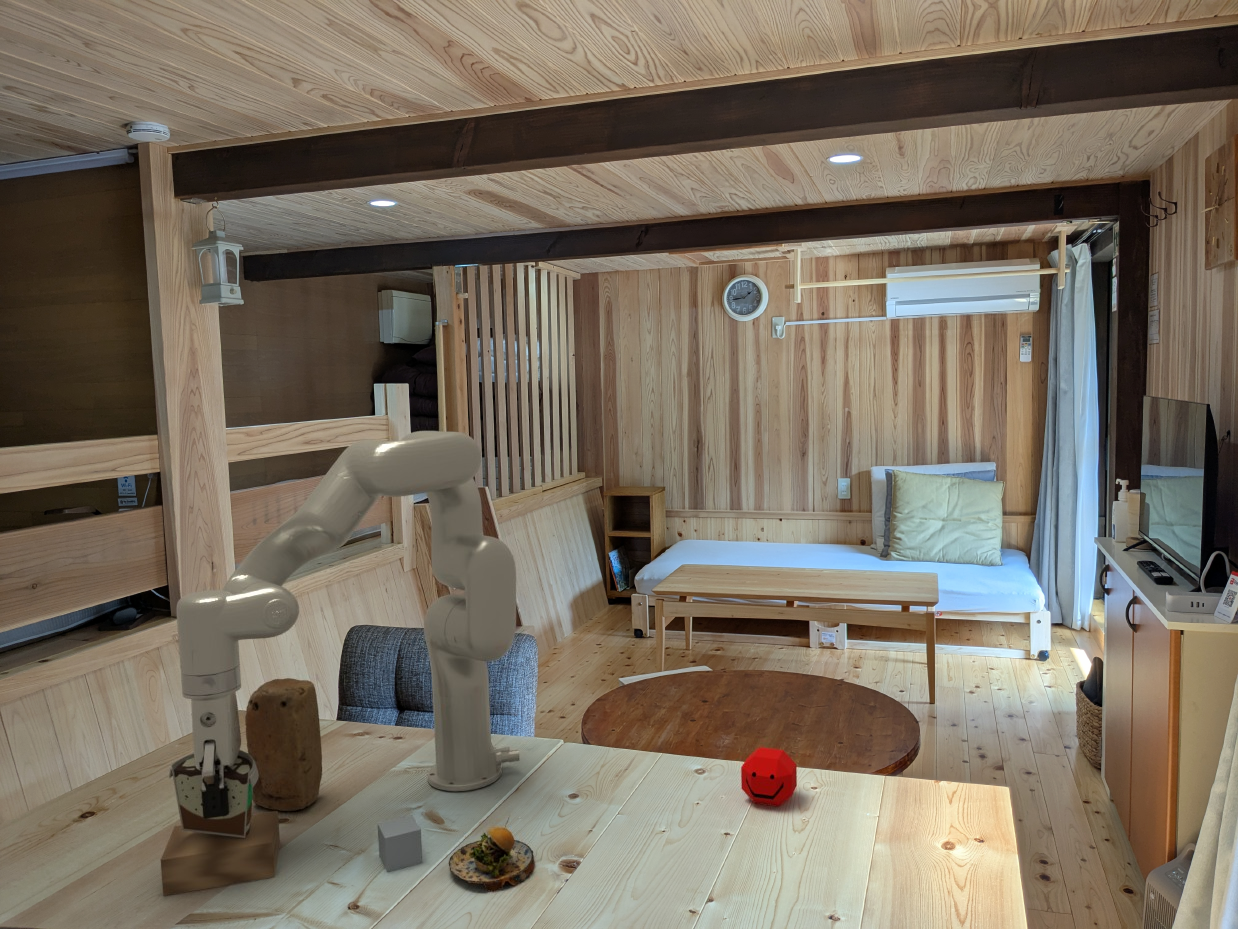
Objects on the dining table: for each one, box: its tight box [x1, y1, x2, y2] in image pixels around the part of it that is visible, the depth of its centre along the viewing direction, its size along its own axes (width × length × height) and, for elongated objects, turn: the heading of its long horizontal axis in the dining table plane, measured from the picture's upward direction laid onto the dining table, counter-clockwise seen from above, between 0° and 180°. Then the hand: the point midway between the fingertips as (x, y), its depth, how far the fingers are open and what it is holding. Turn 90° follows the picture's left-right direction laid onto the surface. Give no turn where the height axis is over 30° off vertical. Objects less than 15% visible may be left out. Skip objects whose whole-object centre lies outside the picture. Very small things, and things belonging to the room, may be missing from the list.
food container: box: [168, 749, 259, 838], centre depth 128 cm, size 12×6×10 cm, turn 83°
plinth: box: [160, 810, 281, 897], centre depth 128 cm, size 14×10×5 cm
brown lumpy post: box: [244, 677, 323, 812], centre depth 148 cm, size 11×8×20 cm
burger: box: [448, 815, 535, 893], centre depth 126 cm, size 12×12×8 cm
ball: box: [740, 747, 798, 807], centre depth 144 cm, size 8×8×8 cm
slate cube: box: [377, 814, 424, 873], centre depth 129 cm, size 5×5×5 cm
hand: (220, 804), depth 128 cm, fingers closed on food container, 6 cm apart
